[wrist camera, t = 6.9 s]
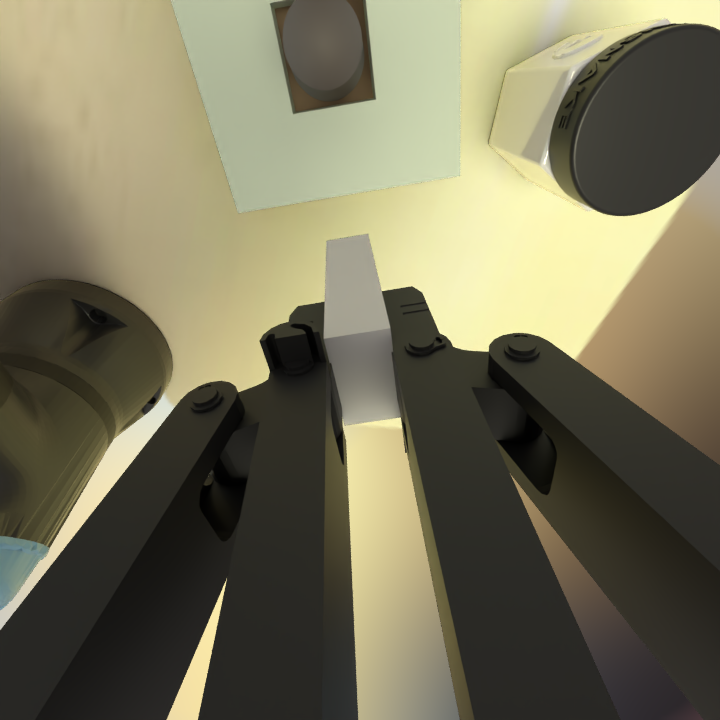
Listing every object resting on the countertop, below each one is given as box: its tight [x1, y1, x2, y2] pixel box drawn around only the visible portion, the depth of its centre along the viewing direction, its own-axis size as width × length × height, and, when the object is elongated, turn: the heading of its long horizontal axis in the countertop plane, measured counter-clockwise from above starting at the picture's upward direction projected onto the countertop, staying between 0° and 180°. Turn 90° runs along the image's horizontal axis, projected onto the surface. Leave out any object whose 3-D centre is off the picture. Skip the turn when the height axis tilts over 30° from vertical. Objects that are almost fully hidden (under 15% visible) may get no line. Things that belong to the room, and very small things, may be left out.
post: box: [275, 0, 373, 112], centre depth 21 cm, size 16×16×14 cm
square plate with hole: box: [171, 0, 461, 213], centre depth 23 cm, size 15×15×2 cm
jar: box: [489, 18, 720, 216], centre depth 24 cm, size 9×8×12 cm
